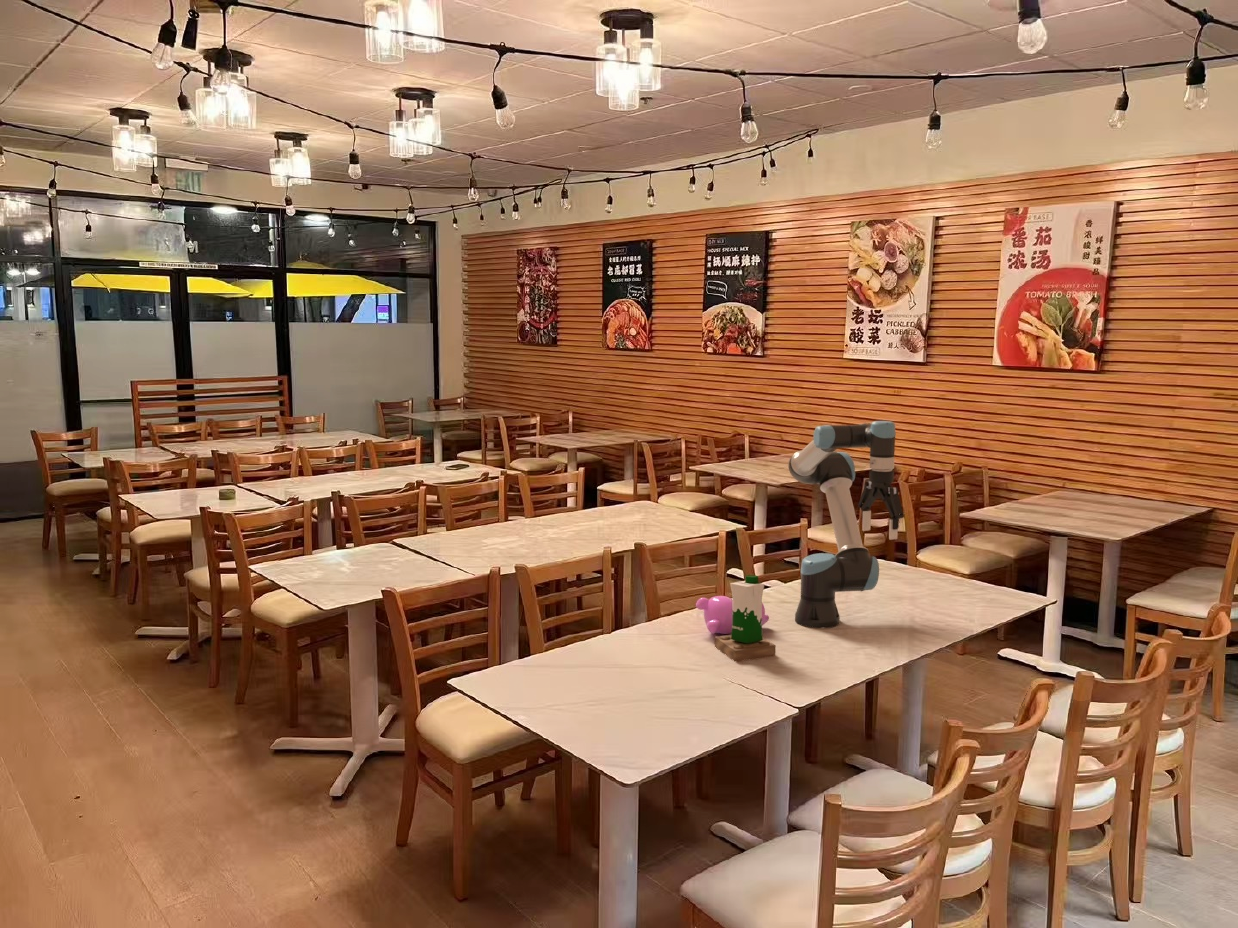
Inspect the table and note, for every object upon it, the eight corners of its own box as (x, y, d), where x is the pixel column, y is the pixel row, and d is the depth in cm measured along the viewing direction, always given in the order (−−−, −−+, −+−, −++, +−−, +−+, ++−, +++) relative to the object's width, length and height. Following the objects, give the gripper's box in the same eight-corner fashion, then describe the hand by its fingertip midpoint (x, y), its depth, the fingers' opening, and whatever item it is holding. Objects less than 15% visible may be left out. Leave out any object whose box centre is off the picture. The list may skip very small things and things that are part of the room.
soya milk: (766, 640, 283) (767, 577, 282) (746, 644, 277) (746, 580, 277) (746, 635, 290) (747, 573, 289) (726, 639, 285) (726, 576, 284)
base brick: (714, 648, 289) (714, 636, 288) (753, 643, 294) (753, 630, 293) (735, 663, 276) (735, 649, 275) (775, 657, 281) (775, 644, 280)
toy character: (745, 613, 319) (685, 611, 308) (761, 585, 312) (700, 583, 301) (764, 645, 308) (702, 645, 296) (781, 618, 301) (718, 616, 290)
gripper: (848, 465, 298) (846, 527, 301) (897, 476, 275) (895, 544, 278) (867, 463, 301) (865, 525, 304) (917, 474, 278) (914, 541, 281)
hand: (879, 534), depth 291 cm, fingers open, 13 cm apart
